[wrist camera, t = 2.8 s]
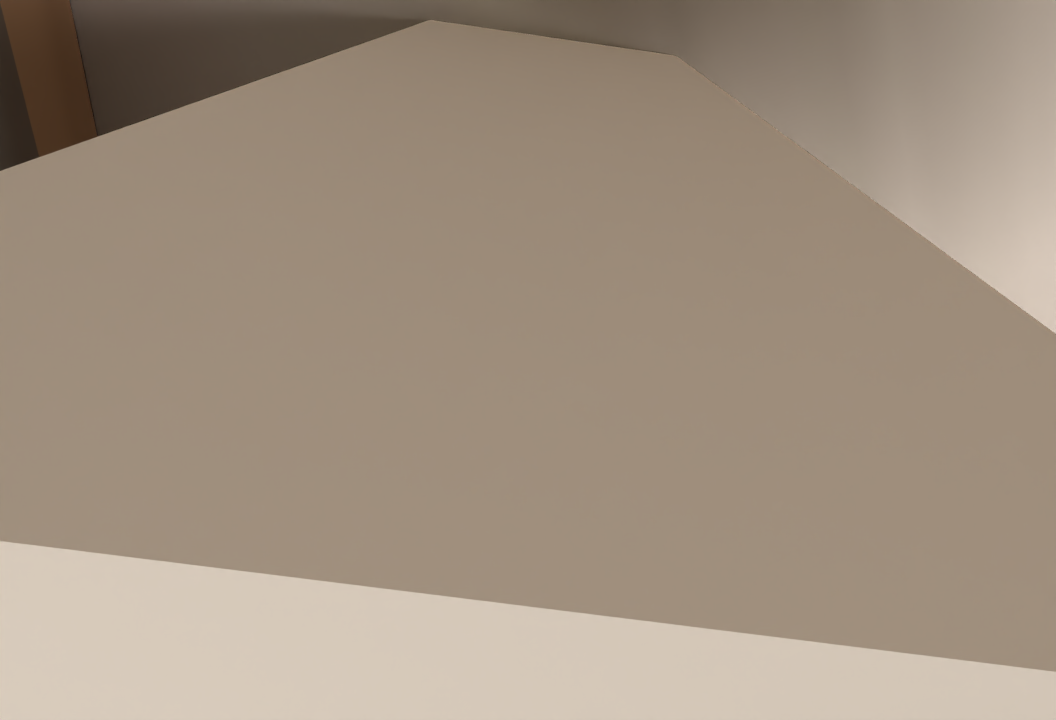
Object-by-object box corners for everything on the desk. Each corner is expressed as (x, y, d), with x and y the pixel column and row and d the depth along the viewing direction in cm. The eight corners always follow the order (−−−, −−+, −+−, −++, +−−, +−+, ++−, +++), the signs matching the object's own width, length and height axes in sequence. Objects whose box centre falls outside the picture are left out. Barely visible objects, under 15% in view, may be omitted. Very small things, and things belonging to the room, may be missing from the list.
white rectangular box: (679, 56, 11) (1636, 744, 1) (577, 509, 16) (599, 1323, 6) (427, 18, 10) (-813, 441, 1) (407, 487, 16) (166, 1280, 6)
